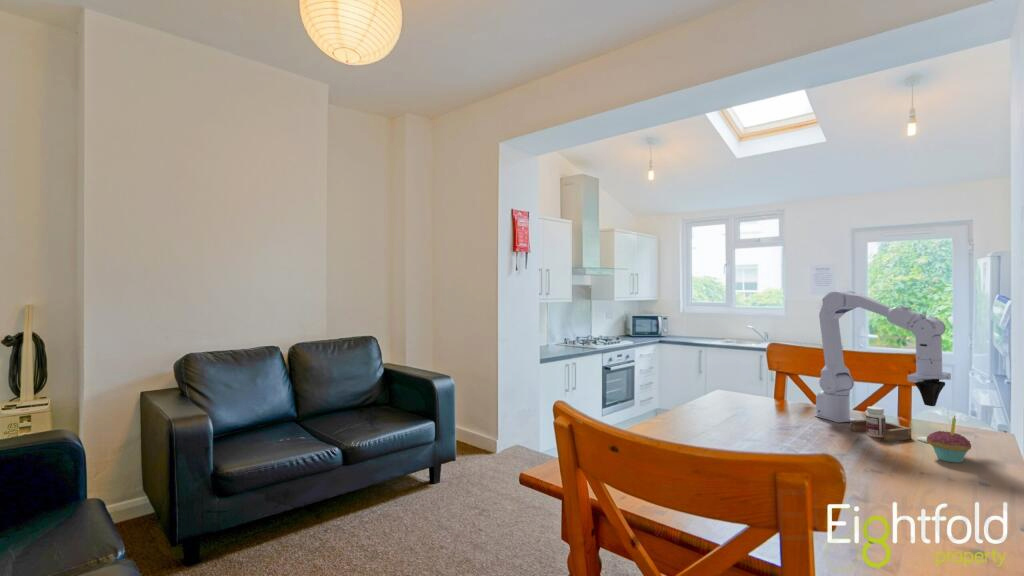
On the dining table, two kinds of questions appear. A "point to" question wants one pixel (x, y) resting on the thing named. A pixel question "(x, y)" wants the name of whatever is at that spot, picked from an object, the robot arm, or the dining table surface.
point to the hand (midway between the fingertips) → (929, 405)
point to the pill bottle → (875, 421)
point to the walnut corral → (890, 433)
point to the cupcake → (949, 445)
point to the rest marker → (922, 439)
